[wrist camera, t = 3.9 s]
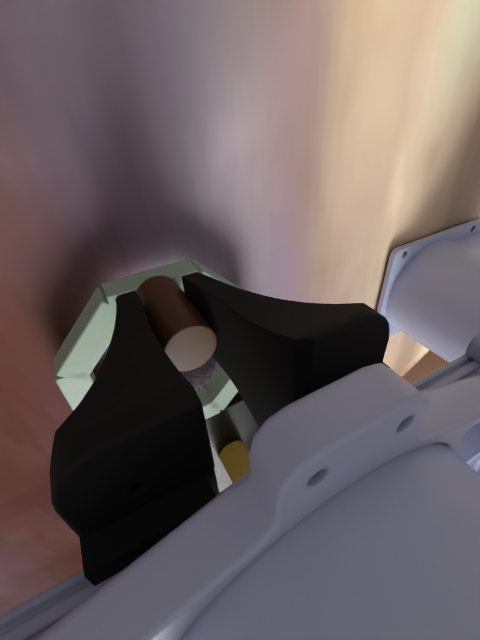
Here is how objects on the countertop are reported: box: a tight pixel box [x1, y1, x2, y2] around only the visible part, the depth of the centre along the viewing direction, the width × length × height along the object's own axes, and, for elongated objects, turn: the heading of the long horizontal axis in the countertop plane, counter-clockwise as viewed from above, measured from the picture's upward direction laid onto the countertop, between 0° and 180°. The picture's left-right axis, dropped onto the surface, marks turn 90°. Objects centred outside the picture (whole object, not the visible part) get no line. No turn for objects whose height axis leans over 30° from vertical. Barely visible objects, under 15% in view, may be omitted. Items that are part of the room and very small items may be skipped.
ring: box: [53, 259, 244, 420], centre depth 14 cm, size 10×9×5 cm
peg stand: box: [206, 392, 259, 492], centre depth 22 cm, size 10×10×6 cm
